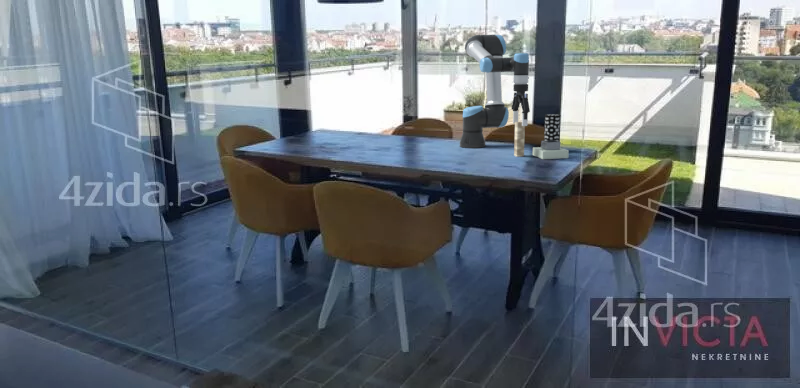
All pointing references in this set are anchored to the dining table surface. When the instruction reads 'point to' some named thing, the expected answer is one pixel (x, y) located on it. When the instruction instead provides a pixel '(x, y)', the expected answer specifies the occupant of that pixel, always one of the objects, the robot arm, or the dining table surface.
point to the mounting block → (550, 153)
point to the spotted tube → (552, 127)
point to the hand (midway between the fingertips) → (520, 124)
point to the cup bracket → (550, 145)
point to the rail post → (519, 139)
